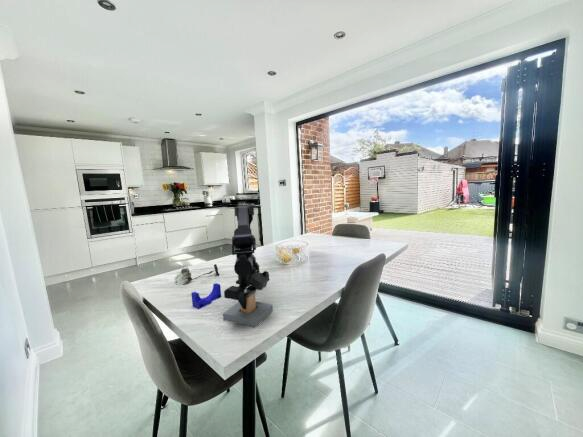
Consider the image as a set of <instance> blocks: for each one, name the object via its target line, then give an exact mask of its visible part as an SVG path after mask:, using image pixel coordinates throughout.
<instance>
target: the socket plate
mask: <svg viewBox="0 0 583 437" xmlns="http://www.w3.org/2000/svg"><path fill="white" fill-rule="evenodd" d="M255 302H256V309H255V310H254V311H253V312H252V313H250V314H249V313H244V312H241V306H240V303H239V301H237V303H235V304H234V305H232V306H231V307H230V308H229V309H227V310H226V311H224V312H223V313H222V317H223V321H226V320H227V322H230V321H232V322H231V323H234V322H236V324H239V323H240V324H239V325H243V324H244V325H243V326H247V325H248V326H247V327H251V326H253V327H252V328H255V327H256V326H257V325H258V324H259V323H260V322H261V321H262V322H263V321H264V320H265V319H266V318H267V317H268V316H270V314H271V313H273V308H274V307H273V304H271V303H266V302H260V301H256V300H255ZM262 322H261V323H262ZM261 323H260V324H261ZM260 324H259V325H260ZM259 325H258V326H259ZM258 326H257V327H258ZM257 327H256V328H257Z"/></svg>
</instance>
